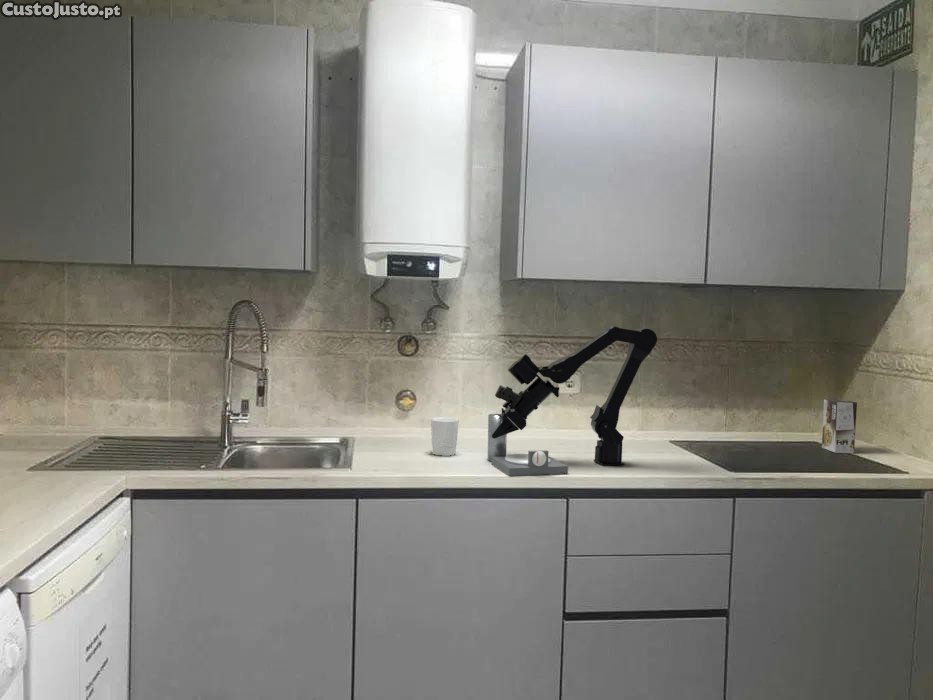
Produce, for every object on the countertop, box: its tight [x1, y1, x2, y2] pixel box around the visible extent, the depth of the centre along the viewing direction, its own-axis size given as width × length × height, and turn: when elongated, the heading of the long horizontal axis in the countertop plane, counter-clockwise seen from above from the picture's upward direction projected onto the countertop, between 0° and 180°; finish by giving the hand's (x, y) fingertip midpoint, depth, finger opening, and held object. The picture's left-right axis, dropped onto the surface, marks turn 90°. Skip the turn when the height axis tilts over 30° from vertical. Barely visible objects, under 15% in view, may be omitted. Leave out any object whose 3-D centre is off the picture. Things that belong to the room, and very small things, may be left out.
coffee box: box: [821, 398, 858, 454], centre depth 232 cm, size 9×6×16 cm
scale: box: [491, 449, 569, 477], centre depth 192 cm, size 16×14×6 cm
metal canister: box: [487, 413, 508, 462], centre depth 202 cm, size 5×5×13 cm
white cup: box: [430, 416, 460, 457], centre depth 209 cm, size 8×8×10 cm
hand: (492, 435), depth 202 cm, fingers closed on metal canister, 5 cm apart
